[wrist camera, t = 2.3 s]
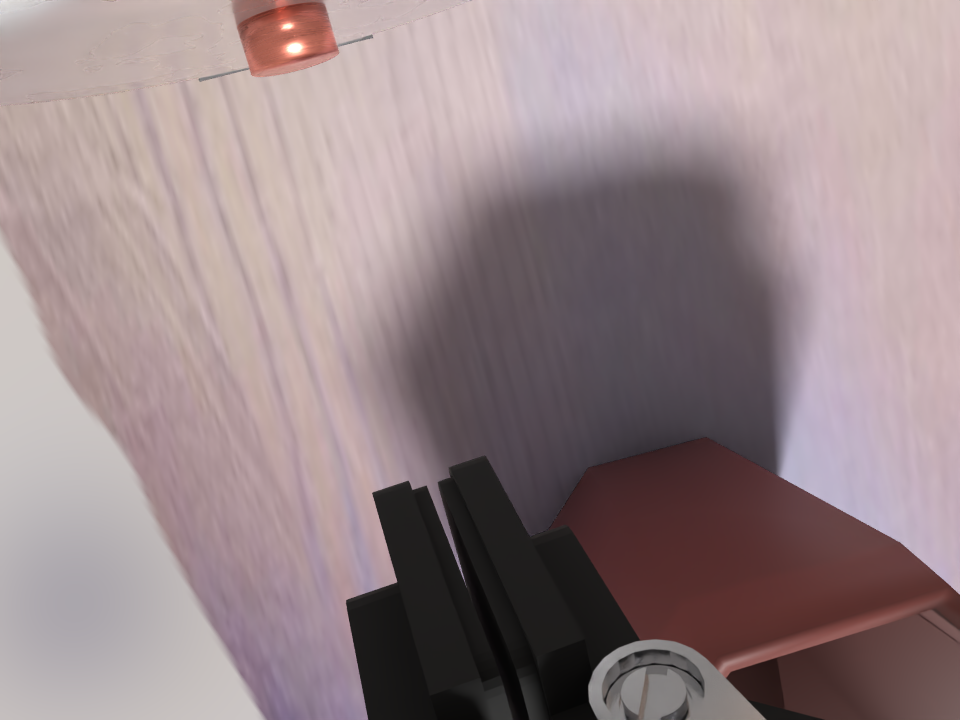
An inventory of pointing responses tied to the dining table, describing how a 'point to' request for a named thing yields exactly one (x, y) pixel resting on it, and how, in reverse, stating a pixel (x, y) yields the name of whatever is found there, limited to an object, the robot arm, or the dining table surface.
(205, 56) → the cooker lid
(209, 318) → the dining table surface
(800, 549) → the bucket
